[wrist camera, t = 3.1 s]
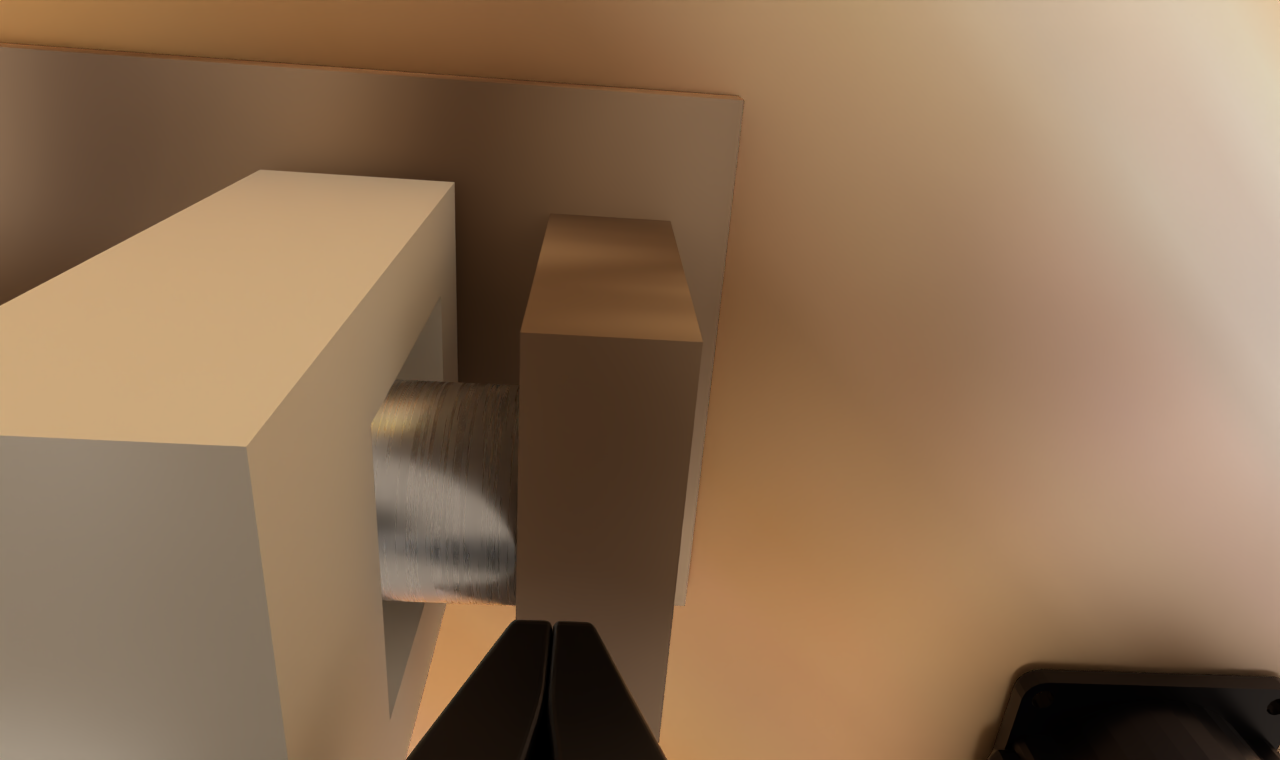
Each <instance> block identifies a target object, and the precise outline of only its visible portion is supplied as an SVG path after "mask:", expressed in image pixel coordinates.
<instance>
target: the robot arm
mask: <svg viewBox="0 0 1280 760" xmlns="http://www.w3.org/2000/svg"><path fill="white" fill-rule="evenodd" d="M1039 692H1041V693H1039ZM1038 693H1039V694H1038ZM1279 745H1280V678H1277V677H1262V676H1231V675H1200V674H1168V673H1137V672H1105V671H1074V670H1043V669H1041V670H1032V671H1030V672H1028V673H1025V674H1023V675H1022V676H1021V677H1020V678H1019V679H1018V680H1017V681H1016V683H1015V685H1014V687H1013V690H1012V693H1011V696H1010V699H1009V702H1008V705H1007V708H1006V711H1005V714H1004V717H1003V720H1002V723H1001V726H1000V729H999V732H998V735H997V738H996V741H995V744H994V747H993V750H992V753H991V755H990V756H989V757H988V759H987V760H1280V754H1279V752H1278V751H1277V749H1278V747H1279ZM406 760H667V758H666V757H665V755H664V753H663V751H662V749H661V747H660V746H659V744H658V742H657V740H656V738H655V736H654V735H653V733H652V731H651V729H650V727H649V725H648V724H647V722H646V720H645V718H644V716H643V714H642V712H641V711H640V709H639V707H638V705H637V703H636V701H635V700H634V698H633V696H632V694H631V692H630V690H629V689H628V687H627V685H626V683H625V681H624V679H623V678H622V676H621V674H620V672H619V670H618V668H617V667H616V665H615V663H614V661H613V659H612V657H611V655H610V654H609V652H608V650H607V648H606V646H605V644H604V643H603V641H602V639H601V637H600V635H599V633H598V632H597V630H596V628H595V627H594V625H593V624H591V623H589V622H576V621H558V622H556V623H555V624H554V626H553V630H552V625H551V623H550V622H549V621H546V620H520V619H519V620H514V621H513V622H511V623H510V625H509V626H508V627H507V628H506V630H505V631H504V632H503V633H502V635H501V636H500V637H499V639H498V640H497V641H496V643H495V644H494V645H493V647H492V648H491V649H490V650H489V652H488V653H487V654H486V656H485V657H484V658H483V660H482V661H481V662H480V664H479V665H478V666H477V667H476V669H475V670H474V671H473V673H472V674H471V675H470V677H469V678H468V679H467V681H466V682H465V683H464V684H463V686H462V687H461V688H460V690H459V691H458V692H457V694H456V695H455V696H454V697H453V699H452V700H451V701H450V703H449V704H448V705H447V707H446V708H445V709H444V711H443V712H442V713H441V714H440V716H439V717H438V718H437V720H436V721H435V722H434V724H433V725H432V726H431V728H430V729H429V730H428V731H427V733H426V734H425V735H424V737H423V738H422V739H421V741H420V742H419V743H418V745H417V746H416V747H415V748H414V750H413V751H412V752H411V754H410V755H409V756H408V758H407V759H406Z"/></svg>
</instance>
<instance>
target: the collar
mask: <svg viewBox="0 0 1280 760" xmlns="http://www.w3.org/2000/svg"><path fill="white" fill-rule="evenodd" d="M395 379H399V380H419V381H439V382H458V357H457V298H456V239H455V182H445V181H429V180H414V179H398V178H383V177H367V176H352V175H336V174H321V173H306V172H290V171H275V170H258V171H256V172H255V173H253V174H251V175H249V176H247V177H245V178H243V179H241V180H239V181H237V182H235V183H234V184H232V185H230V186H228V187H226V188H224V189H222V190H220V191H218V192H216V193H214V194H213V195H211V196H209V197H207V198H205V199H203V200H201V201H199V202H197V203H195V204H193V205H192V206H190V207H188V208H186V209H184V210H182V211H180V212H178V213H176V214H174V215H172V216H171V217H169V218H167V219H165V220H163V221H161V222H159V223H157V224H155V225H153V226H151V227H150V228H148V229H146V230H144V231H142V232H140V233H138V234H136V235H134V236H132V237H130V238H129V239H127V240H125V241H123V242H121V243H119V244H117V245H115V246H113V247H111V248H109V249H108V250H106V251H104V252H102V253H100V254H98V255H96V256H94V257H92V258H90V259H88V260H87V261H85V262H83V263H81V264H79V265H77V266H75V267H73V268H71V269H69V270H67V271H66V272H64V273H62V274H60V275H58V276H56V277H54V278H52V279H50V280H48V281H46V282H45V283H43V284H41V285H39V286H37V287H35V288H33V289H31V290H29V291H27V292H25V293H24V294H22V295H20V296H18V297H16V298H14V299H12V300H10V301H8V302H6V303H4V304H3V305H1V306H0V760H406V756H407V752H408V748H409V744H410V741H411V737H412V733H413V729H414V725H415V721H416V718H417V714H418V710H419V706H420V702H421V699H422V695H423V691H424V687H425V683H426V679H427V676H428V672H429V668H430V664H431V660H432V657H433V653H434V649H435V645H436V641H437V637H438V634H439V630H440V626H441V622H442V618H443V615H444V611H445V607H446V603H430V602H402V601H382V592H381V576H380V561H379V545H378V530H377V514H376V499H375V484H374V468H373V453H372V437H371V423H372V421H373V420H374V418H375V416H376V414H377V412H378V410H379V408H380V407H381V405H382V403H383V401H384V399H385V397H386V396H387V394H388V392H389V390H390V388H391V386H392V385H393V383H394V381H395Z"/></svg>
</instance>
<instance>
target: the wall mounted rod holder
mask: <svg viewBox="0 0 1280 760" xmlns="http://www.w3.org/2000/svg"><path fill="white" fill-rule="evenodd" d="M743 107H744V100H743V99H742V98H741V97H739V96H731V95H717V94H703V93H689V92H676V91H662V90H648V89H634V88H620V87H606V86H592V85H579V84H565V83H551V82H537V81H523V80H509V79H496V78H482V77H468V76H454V75H440V74H426V73H413V72H399V71H385V70H371V69H357V68H343V67H330V66H316V65H302V64H288V63H274V62H260V61H247V60H233V59H219V58H205V57H191V56H177V55H163V54H150V53H136V52H122V51H108V50H94V49H80V48H67V47H53V46H39V45H25V44H11V43H0V306H1V305H3V304H4V303H6V302H8V301H10V300H12V299H14V298H16V297H18V296H20V295H22V294H24V293H25V292H27V291H29V290H31V289H33V288H35V287H37V286H39V285H41V284H43V283H45V282H46V281H48V280H50V279H52V278H54V277H56V276H58V275H60V274H62V273H64V272H66V271H67V270H69V269H71V268H73V267H75V266H77V265H79V264H81V263H83V262H85V261H87V260H88V259H90V258H92V257H94V256H96V255H98V254H100V253H102V252H104V251H106V250H108V249H109V248H111V247H113V246H115V245H117V244H119V243H121V242H123V241H125V240H127V239H129V238H130V237H132V236H134V235H136V234H138V233H140V232H142V231H144V230H146V229H148V228H150V227H151V226H153V225H155V224H157V223H159V222H161V221H163V220H165V219H167V218H169V217H171V216H172V215H174V214H176V213H178V212H180V211H182V210H184V209H186V208H188V207H190V206H192V205H193V204H195V203H197V202H199V201H201V200H203V199H205V198H207V197H209V196H211V195H213V194H214V193H216V192H218V191H220V190H222V189H224V188H226V187H228V186H230V185H232V184H234V183H235V182H237V181H239V180H241V179H243V178H245V177H247V176H249V175H251V174H253V173H255V172H256V171H258V170H275V171H290V172H306V173H321V174H336V175H352V176H367V177H383V178H398V179H414V180H429V181H445V182H455V239H456V298H457V357H458V382H459V383H478V384H498V385H518V386H519V442H518V506H517V570H516V620H519V619H520V620H546V621H549V622H550V623H551V625H552V630H553V626H554V624H555V623H556V622H558V621H576V622H589V623H591V624H593V625H594V627H595V628H596V630H597V632H598V633H599V635H600V637H601V639H602V641H603V643H604V644H605V646H606V648H607V650H608V652H609V654H610V655H611V657H612V659H613V661H614V663H615V665H616V667H617V668H618V670H619V672H620V674H621V676H622V678H623V679H624V681H625V683H626V685H627V687H628V689H629V690H630V692H631V694H632V696H633V698H634V700H635V701H636V703H637V705H638V707H639V709H640V711H641V712H642V714H643V716H644V718H645V720H646V722H647V724H648V725H649V727H650V729H651V731H652V733H653V735H654V736H655V738H656V740H657V742H658V743H659V737H660V727H661V718H662V709H663V700H664V691H665V682H666V673H667V664H668V655H669V646H670V637H671V628H672V619H673V610H674V605H675V606H685V602H686V594H687V585H688V576H689V568H690V559H691V551H692V542H693V534H694V525H695V517H696V508H697V500H698V491H699V483H700V474H701V465H702V457H703V448H704V440H705V431H706V423H707V414H708V406H709V397H710V389H711V380H712V372H713V363H714V354H715V346H716V337H717V329H718V320H719V312H720V303H721V295H722V286H723V278H724V269H725V261H726V252H727V243H728V235H729V226H730V218H731V209H732V201H733V192H734V184H735V175H736V167H737V158H738V150H739V141H740V132H741V124H742V115H743Z"/></svg>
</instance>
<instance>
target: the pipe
mask: <svg viewBox="0 0 1280 760" xmlns="http://www.w3.org/2000/svg"><path fill="white" fill-rule="evenodd" d="M371 437H372V453H373V468H374V484H375V499H376V514H377V530H378V545H379V561H380V576H381V592H382V601H402V602H430V603H459V604H487V605H516V570H517V506H518V442H519V386H518V385H498V384H478V383H459V382H439V381H419V380H399V379H395V381H394V383H393V385H392V386H391V388H390V390H389V392H388V394H387V396H386V397H385V399H384V401H383V403H382V405H381V407H380V408H379V410H378V412H377V414H376V416H375V418H374V420H373V421H372V423H371Z"/></svg>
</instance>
